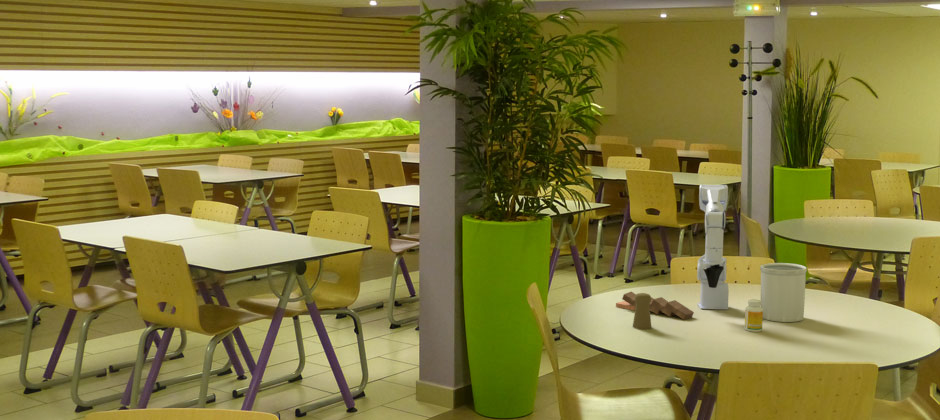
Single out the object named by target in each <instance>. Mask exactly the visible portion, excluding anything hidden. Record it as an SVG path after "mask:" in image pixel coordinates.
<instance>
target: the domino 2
mask: <svg viewBox="0 0 940 420" xmlns="http://www.w3.org/2000/svg"><path fill="white" fill-rule="evenodd" d="M615 308H618V309H623V310H624V309H625V310H631V311H634V310H635V309H636V307H634V306H633V305H631V304H629V303H628V302H626V301H624V300H623V301H619V302H616V303H615Z"/></svg>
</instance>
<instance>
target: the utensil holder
mask: <svg viewBox="0 0 940 420" xmlns="http://www.w3.org/2000/svg"><path fill="white" fill-rule="evenodd" d="M759 267H760V269H759V270H760V300H761V306H760V307H762V308H763V319H764V320H768V321H772V322H778V323H779V322H780V323H795V322H800V321H803V320H804V316H805V299H806V298H805V297H806V277H807V276H806V273H807V271H808V269H807V266H804V265H801V264H797V263H787V262H771V263H770V262H769V263H765V264H761V265H760V266H759Z"/></svg>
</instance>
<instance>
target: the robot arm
mask: <svg viewBox="0 0 940 420" xmlns="http://www.w3.org/2000/svg"><path fill="white" fill-rule="evenodd" d="M698 191H699V194H698V201H699V205H698V206H699V210H701V211H703V212H704V229H705V244H704V245H705V247H704V248H705V249H704V251H705V252H704V254H703V255H702V256H701V257H699V258H698V259H697V269H696V272H697V274H696V275H697V276H696V278H697V280H698V281H700V295H699V296H700V297H699V298H700V299H699V302H697V305H698V307H699V308H700V310H729V296H730V295H729V292H730V291H729V284H728V282H726V280H727V259H728V258H727V257H723V255H724V230H725V228H726V212H725V211H726V210H727V209H726V208H727V205H728V199H729V195H728V194H729V187H728V185H727V184H704V183H703V184H702V183H701V184H700V185H699V190H698Z"/></svg>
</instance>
